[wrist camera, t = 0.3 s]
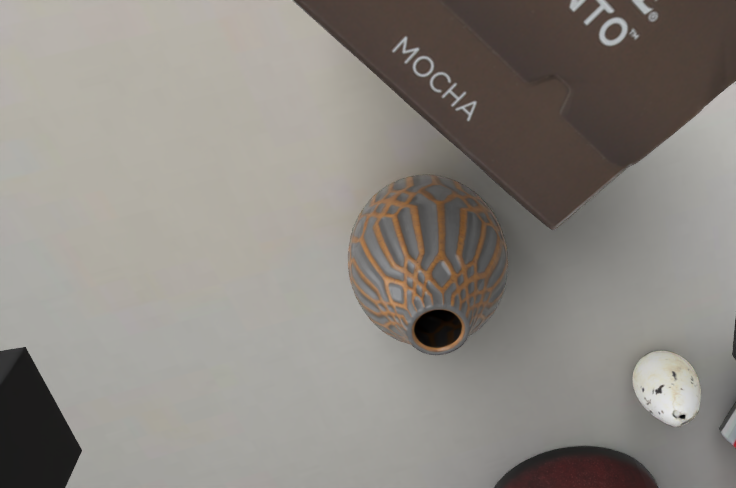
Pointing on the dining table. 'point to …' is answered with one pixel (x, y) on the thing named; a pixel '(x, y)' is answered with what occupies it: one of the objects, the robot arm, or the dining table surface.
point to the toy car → (730, 427)
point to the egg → (667, 387)
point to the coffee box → (545, 80)
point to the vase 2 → (579, 470)
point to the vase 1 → (428, 262)
